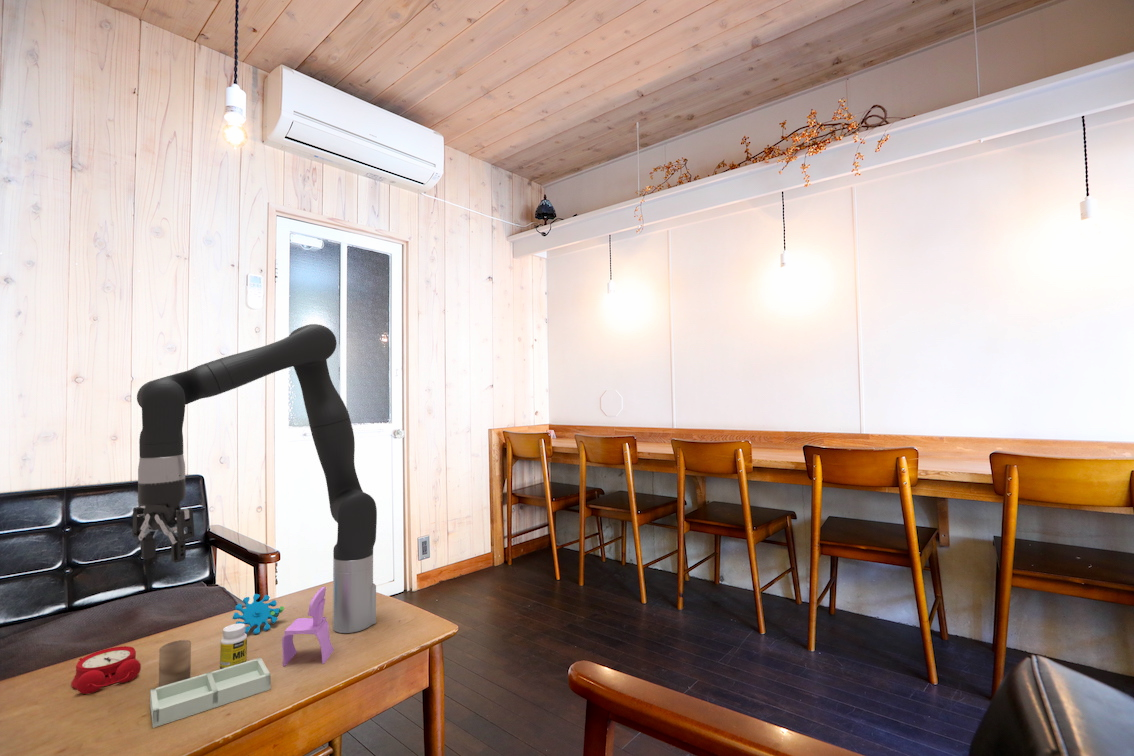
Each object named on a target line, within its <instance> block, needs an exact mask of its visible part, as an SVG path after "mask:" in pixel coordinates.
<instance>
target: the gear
mask: <svg viewBox="0 0 1134 756" xmlns="http://www.w3.org/2000/svg"><path fill="white" fill-rule="evenodd" d="M260 596H261V595H260V594H258V593H254V595H253V598H252V599H253V601H252V603H249V602H250V600H251V599H250V597H249V596H246V597H243V599H242V603H243V604H244V605H245V608H243V605H242V604H241V603H238V604H236V605H235V607H234V609H235V610H236V611H239V612H240V613H241V614H242V615H240V613H239V612H234V614H233V615H232V620H237V621H236V622H235V624H239V623H241V624H245V625H249V626H245V633H246V634H248V633H249V631H250V629H251V628H253V627H255V626H256V628H254V629H253V632H252V634H254V635H259V634H260V631H261V629H260V628H261V625H262V624H264V627H263V631H264V632H265V631H268V630H270V629H271V625H270V624H269V623H268V620H270V623H271V624H273V625H274V624H275V623H276V622H277V621H278V617H279V616H280V613H281V614H282V613H283V612H284V609H285V607H284V606H282V605H281V606H280V607H277V608H274V607H276V605H277V604H278V603H277V600H276V599H273V600H272V601H270V602H268V601H269V600H270V596H269V595H268V594H264V596H263V598H262V599H261V600H260V601H257V600H258V599H259V598H260ZM265 602H267V603H265ZM271 607H273V608H271ZM241 620H243V621H241Z"/></svg>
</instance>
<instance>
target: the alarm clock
mask: <svg viewBox="0 0 1134 756" xmlns="http://www.w3.org/2000/svg"><path fill="white" fill-rule="evenodd" d="M136 653H137V651H136V649H135V648H134V647H132V646H126V645H124V646H115V647H109V648H106V649H102V650H98V651H96V652H93V653H90V654H88V655H86V656H84V657H79V660H78V662H77V663H76V665H75V675H74V677H73V679H72V680H71V688H73V689H76V690H77V691H78V693H80V694H82V695H83V694H84V695H89V694H93V693H96V692H98V691H100V690H101V689H102V688H103V687H108V686H111V685H113V684H117V683H121V684H124V683H125V682H126V683H129V682H131V681H133V680H135V679H136V678H137V676H138V675H139V674H140V671H141V668H142V666H141V664H142V663H141V662H140V661H139V660H138V659H137V658H136V657H137V654H136ZM128 681H129V682H128Z"/></svg>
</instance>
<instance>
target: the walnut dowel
mask: <svg viewBox="0 0 1134 756" xmlns="http://www.w3.org/2000/svg"><path fill="white" fill-rule="evenodd" d="M158 651H159V652H158V653H159V655H158V656H159V657H158V658H159V659H158V660H159V661H158V662H159V663H158V670H159V671H158V687H161V686H165V685H168V684H171V683H175V682H178V681H182V680H185V679H189V678H192V677H191V672H192V671H191V665H192V641H191V640H190V639H189V640H188V639H181V640H174V641H171V642H168V643H166V644H164V645H162V646H161V647H160V648H159V649H158Z"/></svg>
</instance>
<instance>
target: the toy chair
mask: <svg viewBox="0 0 1134 756" xmlns="http://www.w3.org/2000/svg"><path fill="white" fill-rule="evenodd" d="M325 596H326V586H325V585H324V586H322V587H320V588H319V589H318V591H317V592H316V593H315V594H314V595H313V597H312V599H311V600H310V603H309V604H308V605H309V607H308V613H307V616H308V617H309V618H307V617H299V618H298V617H297V618H296V619H295V620H294V621H293V622H292V623H291V624H290V625H289V626H288V627H287V628H286V629H285V630H284V635H283V636H282V638H281V640H282V641H281V646H282V667H286V666H287V665H288V663H289V662H290V661H291V660H292V659H293V657H294V656H295V655H296V654H297V652H298V651H297V649H296V647H295V644H294V635H314V636H316V638H317V640H318V643H319V645H320V646H319V647H320V650H321V664H322V665H324V664H325V663H326V661H327V660H329V657H331V656H332V654H333V652H334V651H335V650H334V647H333V645H332V642H331V639H330V626H329V622H328V620H327V616H324V611H325V610H324V608H325V605H326V603H325V602H326V598H325Z"/></svg>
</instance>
